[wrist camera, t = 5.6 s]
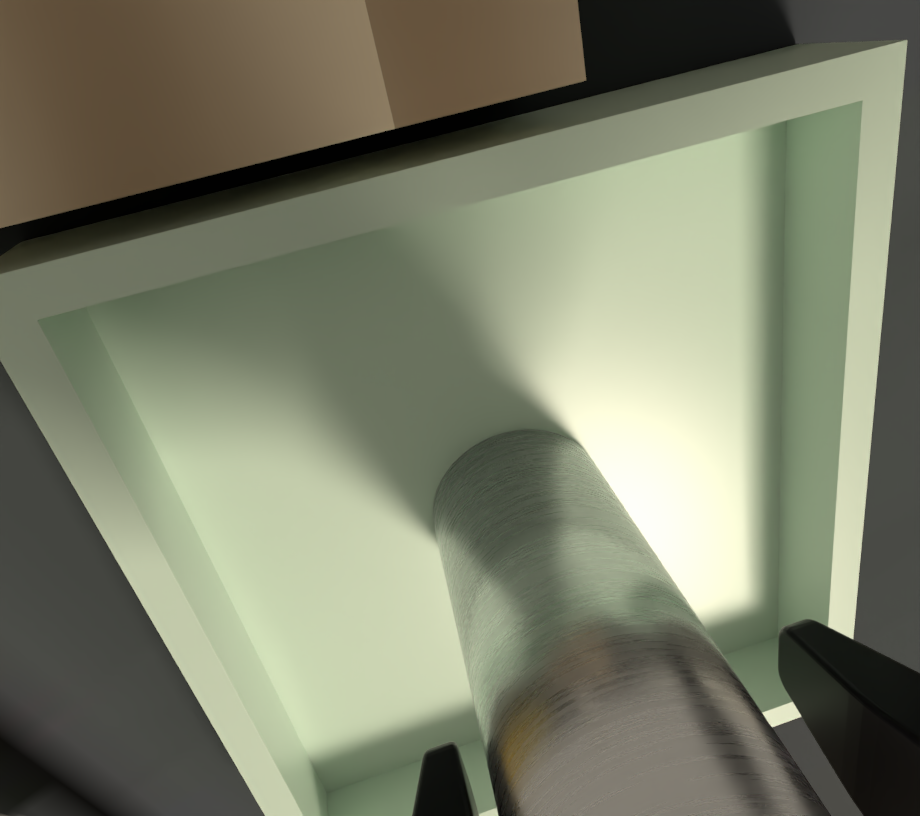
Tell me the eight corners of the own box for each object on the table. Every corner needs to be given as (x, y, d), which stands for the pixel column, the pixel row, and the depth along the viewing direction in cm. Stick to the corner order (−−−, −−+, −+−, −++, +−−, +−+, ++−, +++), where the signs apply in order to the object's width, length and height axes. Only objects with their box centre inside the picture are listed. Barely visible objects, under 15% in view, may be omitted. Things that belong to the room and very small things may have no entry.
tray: (798, 43, 11) (907, 40, 9) (784, 628, 17) (847, 699, 15) (21, 241, 10) (-44, 285, 8) (307, 793, 16) (310, 893, 14)
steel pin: (610, 383, 12) (1224, 1071, 4) (632, 560, 14) (1077, 1285, 6) (385, 444, 12) (509, 1311, 4) (438, 616, 14) (599, 1452, 5)
